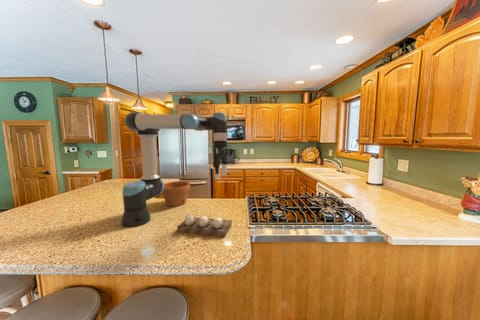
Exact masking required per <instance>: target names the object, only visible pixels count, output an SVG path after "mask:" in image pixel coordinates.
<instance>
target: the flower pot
mask: <svg viewBox="0 0 480 320" xmlns="http://www.w3.org/2000/svg"><path fill="white" fill-rule="evenodd" d="M190 189H191V184H190V182H188V181H170V182H164V190H163V192H162V193H161V194H162V195H163V198H164V202H165V204H166V206H167V207H179V206H183V205H185V204H186V203H187V199H188V195H189V191H190Z"/></svg>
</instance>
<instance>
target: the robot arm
mask: <svg viewBox="0 0 480 320" xmlns="http://www.w3.org/2000/svg"><path fill="white" fill-rule="evenodd" d="M124 125H125V127H126V128H127V129H128V130H130V131H132V132H136V133H137V137H139V138H140V151H141V164H142V165H141V167H142V176H141V177H140V180H135V181H131V182H128V183H126V184H124V185H123V187H122V199H123V200H122V201H123V214H122V219H121V221H120V223H121V226H122V227H125V228H133V227H138V226H142V225H145V224H148V222H150V221H151V214H150V212H149V210H148V208H147V201H148V200H151V199H153V198H156V197H159V195H162V194H163V193H162V192H163V190H164V184H165V182H164V181H163V180H162V179H161V176H160V175H159V174H158V161H157V142H156V141H157V140H156V138H157V137H158V136H159V134H158V133H159V131H160V130H163V129H164V130H167V129H168V130H194V131H198V132H199V131H200V132H202V131H213V148H216V149H214V157H213V164H212V165H213V166H212V168H213V169H214V180H217V181H218V180H221V175H222V176H227V165H228V164H229V162H228V158H227V157H228V156H227V152H226V150H227V149H226V148H227V147H228V141H227V140H228V139H227V138H228V134H227V133H228V131H227V130H228V129H227V126H228V122H227V113H225V112H213V114H212V116H201V115H197V114H194V113H185V114H151V113H144V112H139V111H131V112H129V113H127V114H126V116H125V117H124ZM220 165H221V168H220Z"/></svg>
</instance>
